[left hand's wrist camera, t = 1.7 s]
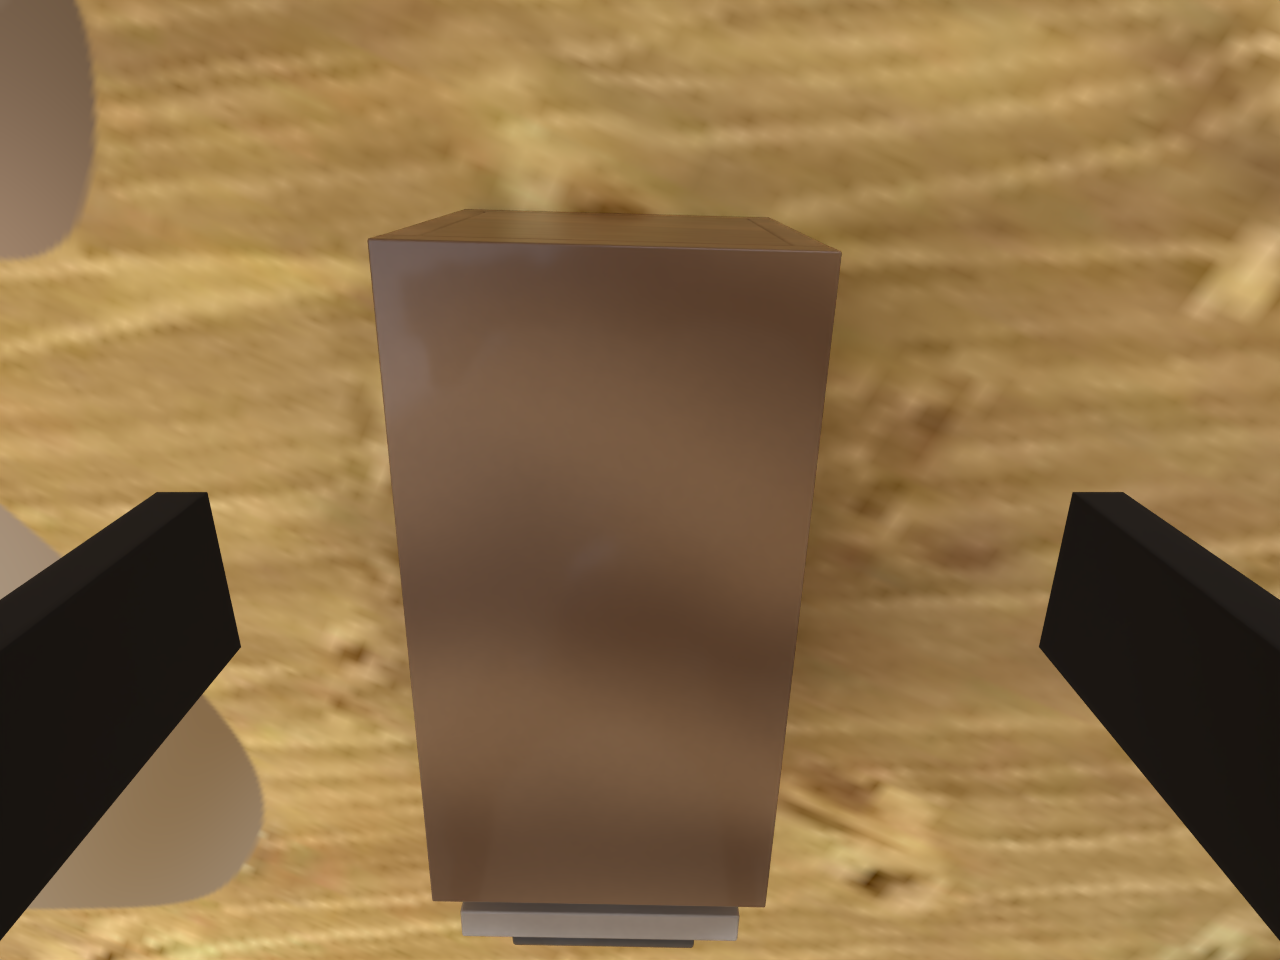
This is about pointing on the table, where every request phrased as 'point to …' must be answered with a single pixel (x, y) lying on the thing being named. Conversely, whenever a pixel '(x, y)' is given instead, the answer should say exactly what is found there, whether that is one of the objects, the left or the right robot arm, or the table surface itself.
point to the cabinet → (602, 540)
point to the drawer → (600, 924)
